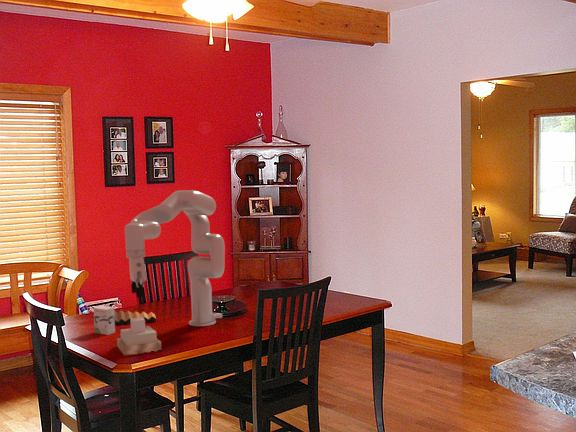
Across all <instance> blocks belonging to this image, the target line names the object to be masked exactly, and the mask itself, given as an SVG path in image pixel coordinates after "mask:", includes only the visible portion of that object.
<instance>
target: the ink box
mask: <svg viewBox="0 0 576 432" xmlns="http://www.w3.org/2000/svg"><path fill="white" fill-rule="evenodd" d="M114 310H115V307H114V306H108V305H98V306H95V307H93V330H94V331H93V333H94V334H99V335H105V336H106V335H107V336H109V335H111V334H114V333H115V334H116V328H115V327H116V325H115V320H114Z"/></svg>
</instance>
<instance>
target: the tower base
mask: <svg viewBox="0 0 576 432" xmlns="http://www.w3.org/2000/svg"><path fill="white" fill-rule="evenodd" d="M116 340H117V344H116V345H117V348H118V349H119V351H120V352H121V353H122V355H123V356H131V355H139V354H144V353H145V352H146V353H151V351H154V352H159V351H158V350H161V351H162V341H161V340H160V339H158V338H157V342H152V343H145V344H138V345H131V346H127V345H126V344H125V343H124V342H123V341H122V340H121V337H120V338H116ZM138 353H139V354H138ZM146 353H145V354H146Z"/></svg>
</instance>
